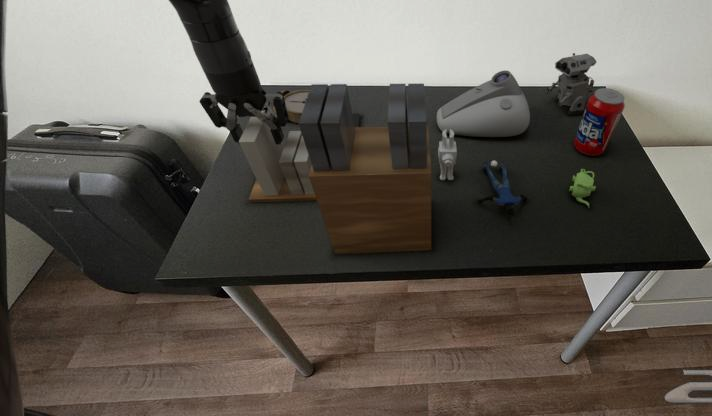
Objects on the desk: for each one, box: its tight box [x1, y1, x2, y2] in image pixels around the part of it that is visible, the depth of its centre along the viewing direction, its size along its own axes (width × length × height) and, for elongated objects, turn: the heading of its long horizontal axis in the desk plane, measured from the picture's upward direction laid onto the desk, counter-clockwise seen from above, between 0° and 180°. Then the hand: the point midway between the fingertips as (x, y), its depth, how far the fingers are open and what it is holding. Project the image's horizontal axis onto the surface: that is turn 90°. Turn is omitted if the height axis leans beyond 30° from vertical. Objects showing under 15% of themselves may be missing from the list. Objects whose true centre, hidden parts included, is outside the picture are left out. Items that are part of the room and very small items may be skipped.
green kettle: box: [569, 168, 597, 208], centre depth 79 cm, size 6×5×6 cm
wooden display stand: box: [247, 130, 317, 204], centre depth 77 cm, size 12×14×10 cm
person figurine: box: [477, 160, 528, 217], centre depth 79 cm, size 11×4×18 cm
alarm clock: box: [266, 89, 310, 124], centre depth 97 cm, size 11×5×15 cm
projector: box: [436, 69, 531, 138], centre depth 93 cm, size 22×23×15 cm
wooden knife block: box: [298, 83, 432, 255], centre depth 63 cm, size 12×18×28 cm, turn 95°
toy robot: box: [437, 129, 458, 181], centre depth 80 cm, size 4×8×12 cm, turn 3°
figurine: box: [546, 52, 597, 117], centre depth 99 cm, size 9×12×15 cm
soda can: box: [573, 87, 626, 157], centre depth 87 cm, size 8×8×15 cm
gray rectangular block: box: [238, 110, 284, 195], centre depth 75 cm, size 10×3×14 cm, turn 5°
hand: (261, 142), depth 73 cm, fingers open, 6 cm apart
